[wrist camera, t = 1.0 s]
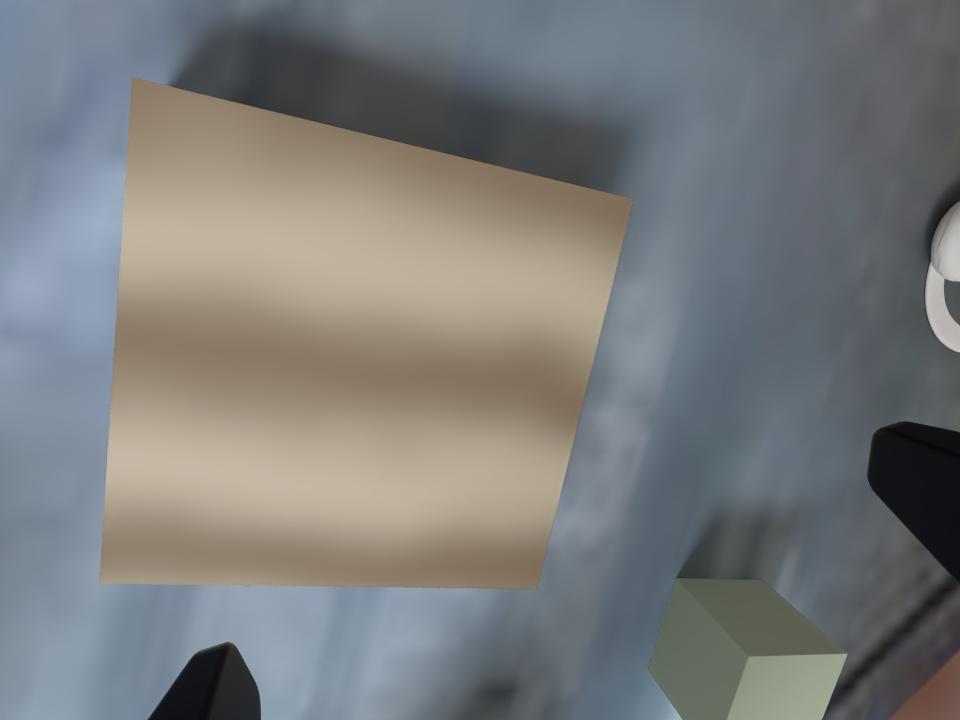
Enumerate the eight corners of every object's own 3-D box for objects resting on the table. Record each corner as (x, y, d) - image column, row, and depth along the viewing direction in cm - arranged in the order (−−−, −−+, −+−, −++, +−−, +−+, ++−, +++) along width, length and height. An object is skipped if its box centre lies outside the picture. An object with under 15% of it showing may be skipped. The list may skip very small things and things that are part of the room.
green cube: (731, 665, 29) (808, 753, 25) (646, 668, 28) (712, 761, 23) (761, 578, 28) (847, 653, 24) (674, 577, 27) (748, 656, 22)
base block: (511, 543, 24) (536, 589, 21) (130, 529, 20) (99, 583, 17) (592, 199, 21) (633, 199, 18) (163, 97, 17) (132, 77, 14)
